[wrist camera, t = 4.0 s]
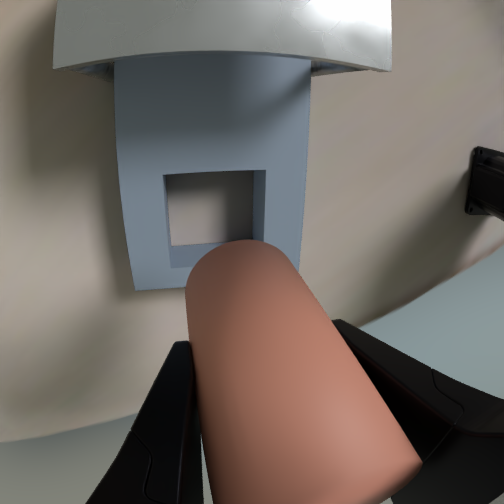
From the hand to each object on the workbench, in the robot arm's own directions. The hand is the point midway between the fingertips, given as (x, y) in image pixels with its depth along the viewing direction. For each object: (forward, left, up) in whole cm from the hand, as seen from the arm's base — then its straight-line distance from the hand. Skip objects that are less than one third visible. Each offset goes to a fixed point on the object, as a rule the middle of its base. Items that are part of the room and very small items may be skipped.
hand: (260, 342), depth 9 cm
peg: (0, 0, -3) cm, 3 cm away
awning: (0, -13, -13) cm, 18 cm away
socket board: (0, -5, -13) cm, 14 cm away
